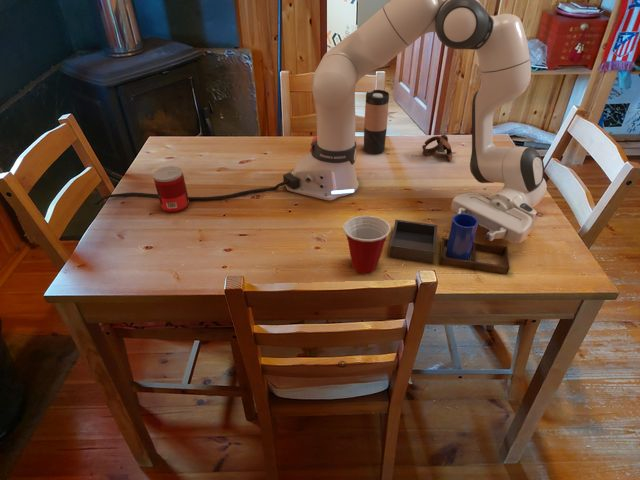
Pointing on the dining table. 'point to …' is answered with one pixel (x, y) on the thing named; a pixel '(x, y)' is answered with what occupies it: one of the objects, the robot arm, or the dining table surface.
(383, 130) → the travel mug
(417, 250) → the dark brown square tray
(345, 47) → the robot arm
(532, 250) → the dining table surface
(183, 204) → the canned food
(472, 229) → the blue cup
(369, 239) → the plastic cup
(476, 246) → the brown divided tray
